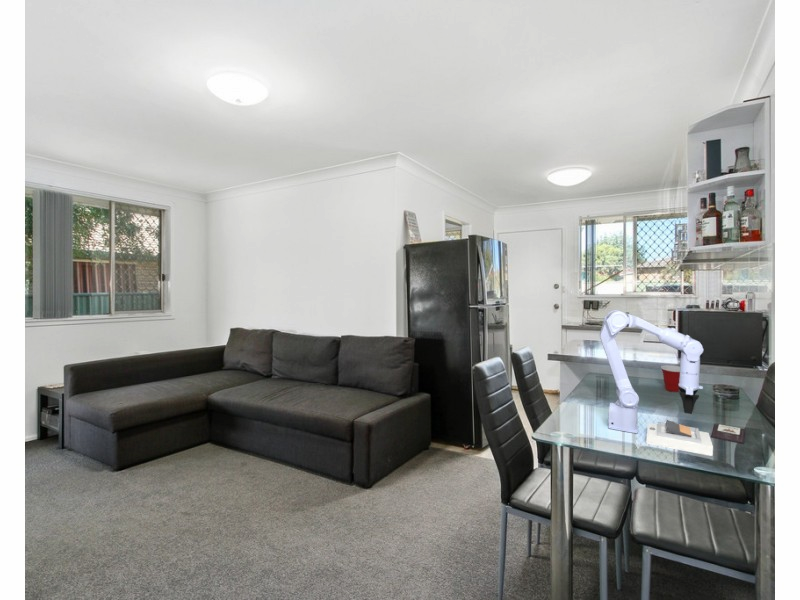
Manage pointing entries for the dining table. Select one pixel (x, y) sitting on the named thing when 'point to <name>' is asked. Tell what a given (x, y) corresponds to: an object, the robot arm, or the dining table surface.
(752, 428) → the dining table surface
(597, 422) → the dining table surface
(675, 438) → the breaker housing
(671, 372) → the plastic cup
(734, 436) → the chocolate bar
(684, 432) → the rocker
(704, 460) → the dining table surface
